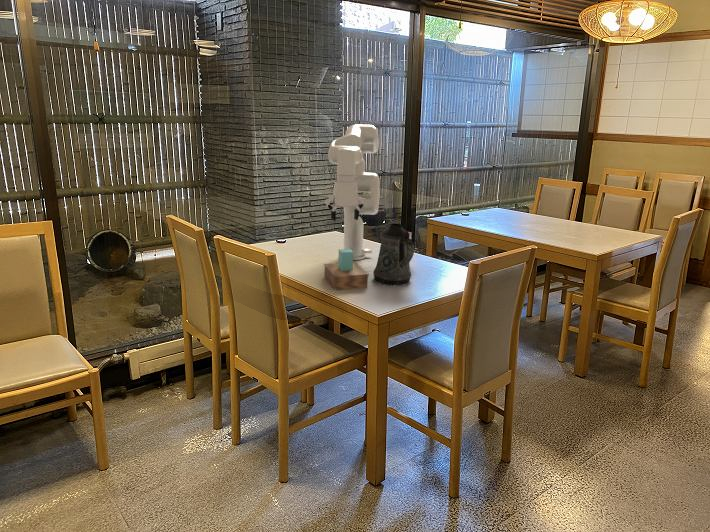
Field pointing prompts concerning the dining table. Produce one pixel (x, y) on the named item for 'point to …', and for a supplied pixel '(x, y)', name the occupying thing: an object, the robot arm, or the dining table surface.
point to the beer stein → (394, 256)
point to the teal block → (345, 259)
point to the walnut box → (346, 276)
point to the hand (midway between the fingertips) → (345, 219)
